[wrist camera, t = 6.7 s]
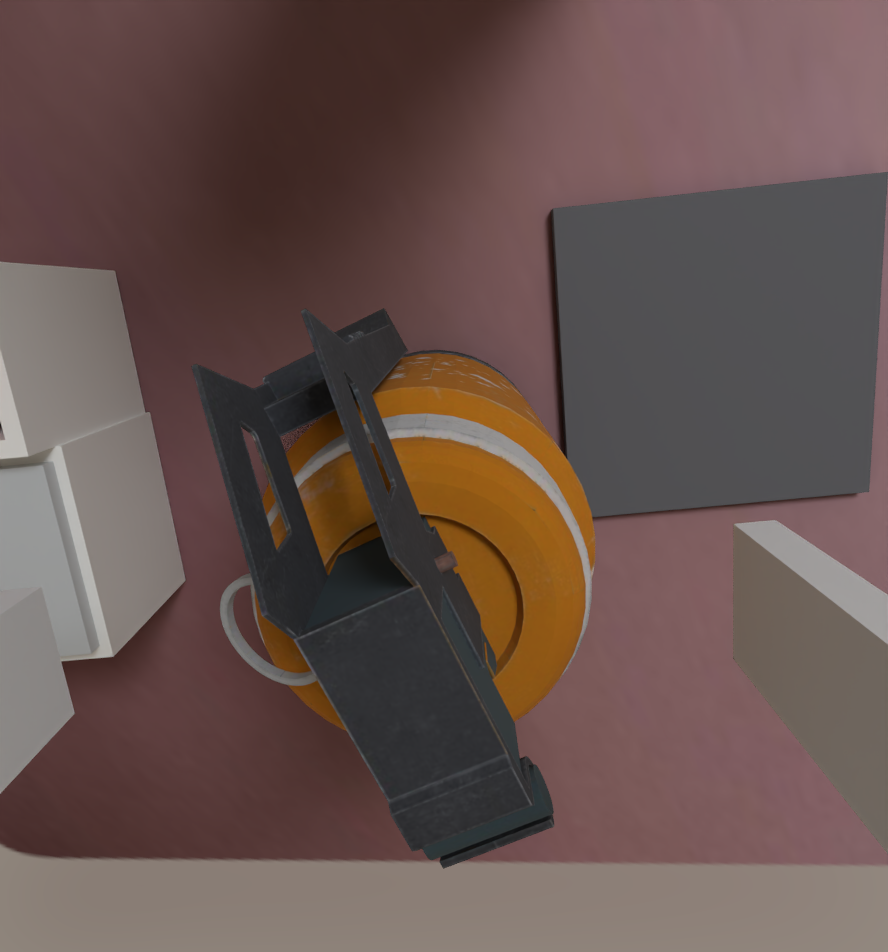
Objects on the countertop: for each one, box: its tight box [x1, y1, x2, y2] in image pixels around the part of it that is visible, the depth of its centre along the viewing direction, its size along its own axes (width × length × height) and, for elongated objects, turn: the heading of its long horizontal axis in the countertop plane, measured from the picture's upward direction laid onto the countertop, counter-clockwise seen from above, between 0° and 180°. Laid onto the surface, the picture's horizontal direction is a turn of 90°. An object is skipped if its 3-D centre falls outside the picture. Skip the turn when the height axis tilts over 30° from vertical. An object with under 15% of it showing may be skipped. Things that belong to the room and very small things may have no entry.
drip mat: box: [551, 172, 888, 517], centre depth 29 cm, size 13×13×1 cm
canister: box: [192, 308, 595, 868], centre depth 20 cm, size 9×11×20 cm
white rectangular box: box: [0, 262, 186, 661], centre depth 26 cm, size 14×6×8 cm, turn 6°
